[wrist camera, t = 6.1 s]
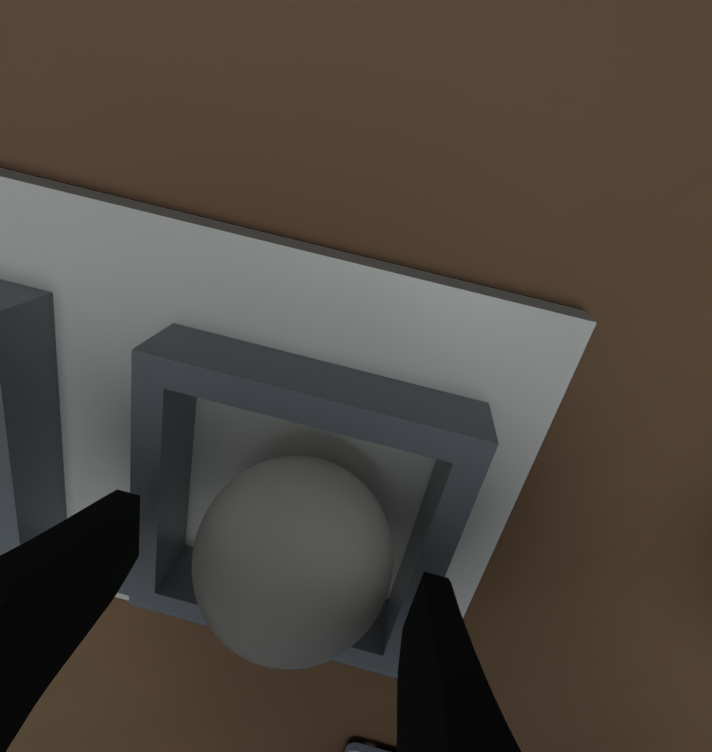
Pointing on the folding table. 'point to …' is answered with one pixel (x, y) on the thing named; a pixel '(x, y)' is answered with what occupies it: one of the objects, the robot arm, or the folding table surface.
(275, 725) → the folding table surface
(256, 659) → the ivory ball
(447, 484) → the ball sorting tray
